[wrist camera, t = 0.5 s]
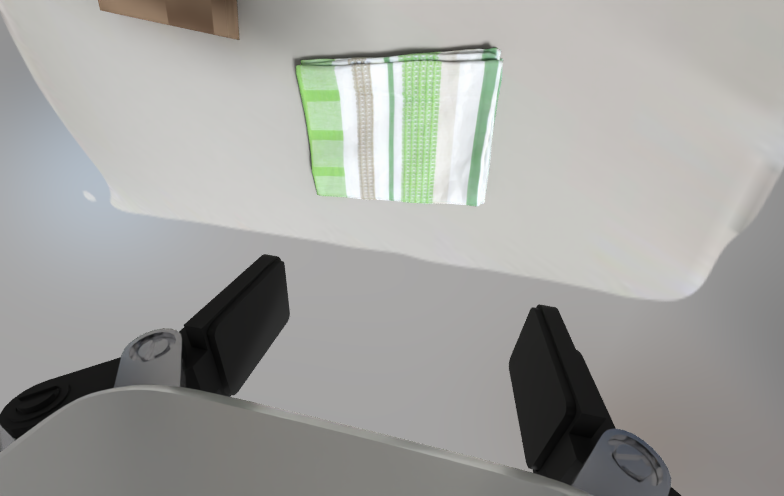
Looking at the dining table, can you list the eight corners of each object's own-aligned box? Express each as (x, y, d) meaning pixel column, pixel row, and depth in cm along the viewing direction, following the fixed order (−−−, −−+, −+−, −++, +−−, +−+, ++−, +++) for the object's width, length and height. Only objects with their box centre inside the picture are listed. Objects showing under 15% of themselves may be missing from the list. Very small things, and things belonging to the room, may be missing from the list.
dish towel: (484, 203, 40) (486, 213, 37) (321, 196, 44) (311, 205, 41) (504, 48, 32) (509, 45, 29) (301, 57, 36) (287, 55, 33)
